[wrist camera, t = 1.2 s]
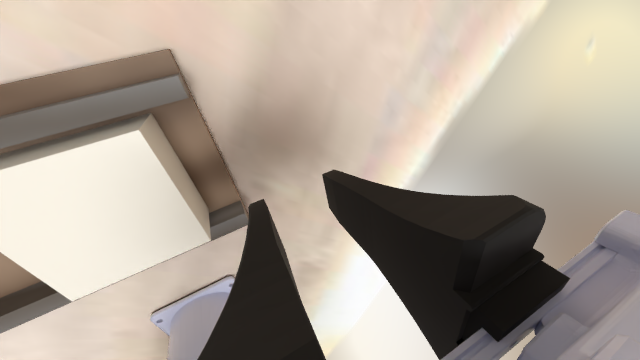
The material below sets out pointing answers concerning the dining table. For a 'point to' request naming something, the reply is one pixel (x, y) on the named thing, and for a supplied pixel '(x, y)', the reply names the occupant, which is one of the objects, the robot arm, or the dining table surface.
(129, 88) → the bay
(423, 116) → the dining table surface
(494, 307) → the robot arm
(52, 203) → the white flat square block
